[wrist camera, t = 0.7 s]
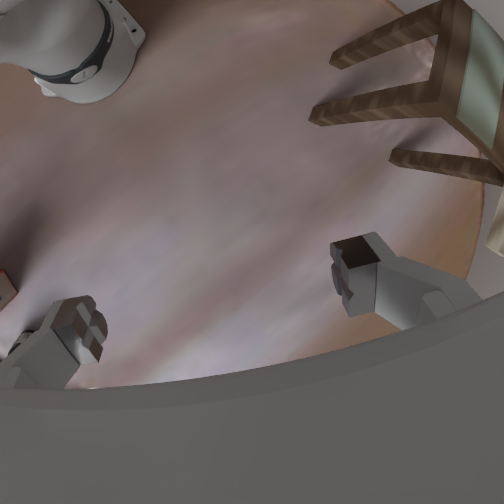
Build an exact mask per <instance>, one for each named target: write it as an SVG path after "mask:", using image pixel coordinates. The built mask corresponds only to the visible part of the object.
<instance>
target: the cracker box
mask: <svg viewBox="0 0 504 504" xmlns="http://www.w3.org/2000/svg"><path fill="white" fill-rule="evenodd" d="M17 294H18V293H17V291H16V290H15V288H14V287H13V285H12V284H11V282H10V280H9V279H8V277H7V275H6V274H5V272H4V270H2V271H0V312H1V311H2V310H3V309H4V308H5V307H6V306H7V305H8V304H9V303H10V301H11V300H12V299H13V298H14V297H15V296H16V295H17Z"/></svg>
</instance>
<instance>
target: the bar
mask: <svg viewBox="0 0 504 504" xmlns="http://www.w3.org/2000/svg"><path fill="white" fill-rule="evenodd" d="M485 246H486V247H487V248H489V249H491V250H492V251H493V252H495V253H496V254H498V255H500V256H502V257H504V186H503V189H502V193H501V197H500V200H499V203H498V207H497V210H496V213H495V216H494V220H493V223H492V226H491V229H490V232H489V235H488V237H487V240H486V243H485Z"/></svg>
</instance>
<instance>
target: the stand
mask: <svg viewBox="0 0 504 504" xmlns="http://www.w3.org/2000/svg"><path fill="white" fill-rule="evenodd" d="M437 34H438V40H437V45H436V49H435V54H434V59H433V64H432V68H431V73H430V77H429V81H423V82H418V83H412V84H407V85H402V86H397V87H392V88H388V89H383V90H378V91H374V92H370V93H365V94H361V95H357V96H353V97H349V98H345V99H342V100H338V101H334V102H330V103H327V104H323V105H320V106H316V107H313V109H312V112H311V115H310V117H309V120H308V121H310V122H313V123H315V124H317V125H319V126H321V127H322V126H329V125H337V124H346V123H355V122H365V121H376V120H389V119H404V118H423V117H442V118H443V119H444V120H445V121H447V122H448V123H449V124H450V125H451V126H453V127H454V128H455V129H456V130H457V131H459V132H460V133H461V134H462V135H463V136H464V137H465V138H467V139H468V140H469V141H470V142H471V143H472V144H473V145H474V146H475V147H476V148H478V149H479V150H480V151H481V152H482V153H483V154H484V155H485V156H486V157H487V158H488V159H489V160H487V159H480V158H473V157H466V156H458V155H450V154H441V153H431V152H421V151H409V150H395V149H393V150H392V153H391V156H390V159H389V162H391V163H393V164H394V165H396V166H398V167H404V168H410V169H417V170H423V171H429V172H434V173H440V174H445V175H450V176H456V177H461V178H466V179H470V180H475V181H480V182H484V183H488V184H493V185H498V186H501V187H503V186H504V41H503V39H502V38H501V37H500V36H499V35H498V34H497V32H496V31H495V30H494V29H493V28H492V27H491V26H490V25H489V24H488V23H487V21H486V20H485V19H484V18H483V17H482V16H481V15H480V14H479V13H478V12H477V11H476V10H475V9H471V8H470V7H469V6H468V5H467V4H466V3H465V2H464V1H463V0H440V1H438V2H435V3H433V4H430V5H428V6H425V7H423V8H421V9H418V10H416V11H414V12H411V13H409V14H407V15H405V16H402V17H400V18H398V19H396V20H394V21H392V22H390V23H388V24H385V25H383V26H381V27H379V28H377V29H375V30H373V31H371V32H369V33H367V34H366V35H364V36H362V37H360V38H358V39H356V40H354V41H352V42H350V43H349V44H347V45H345V46H343V47H341V48H340V49H338V50H336V51H334V52H333V54H332V56H331V59H330V62H329V64H331V65H333V66H335V67H337V68H339V69H341V70H342V69H344V68H347V67H349V66H351V65H354V64H356V63H359V62H361V61H364V60H366V59H369V58H371V57H374V56H376V55H379V54H381V53H384V52H387V51H389V50H392V49H395V48H398V47H400V46H403V45H406V44H409V43H412V42H415V41H418V40H421V39H424V38H427V37H430V36H433V35H437Z"/></svg>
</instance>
